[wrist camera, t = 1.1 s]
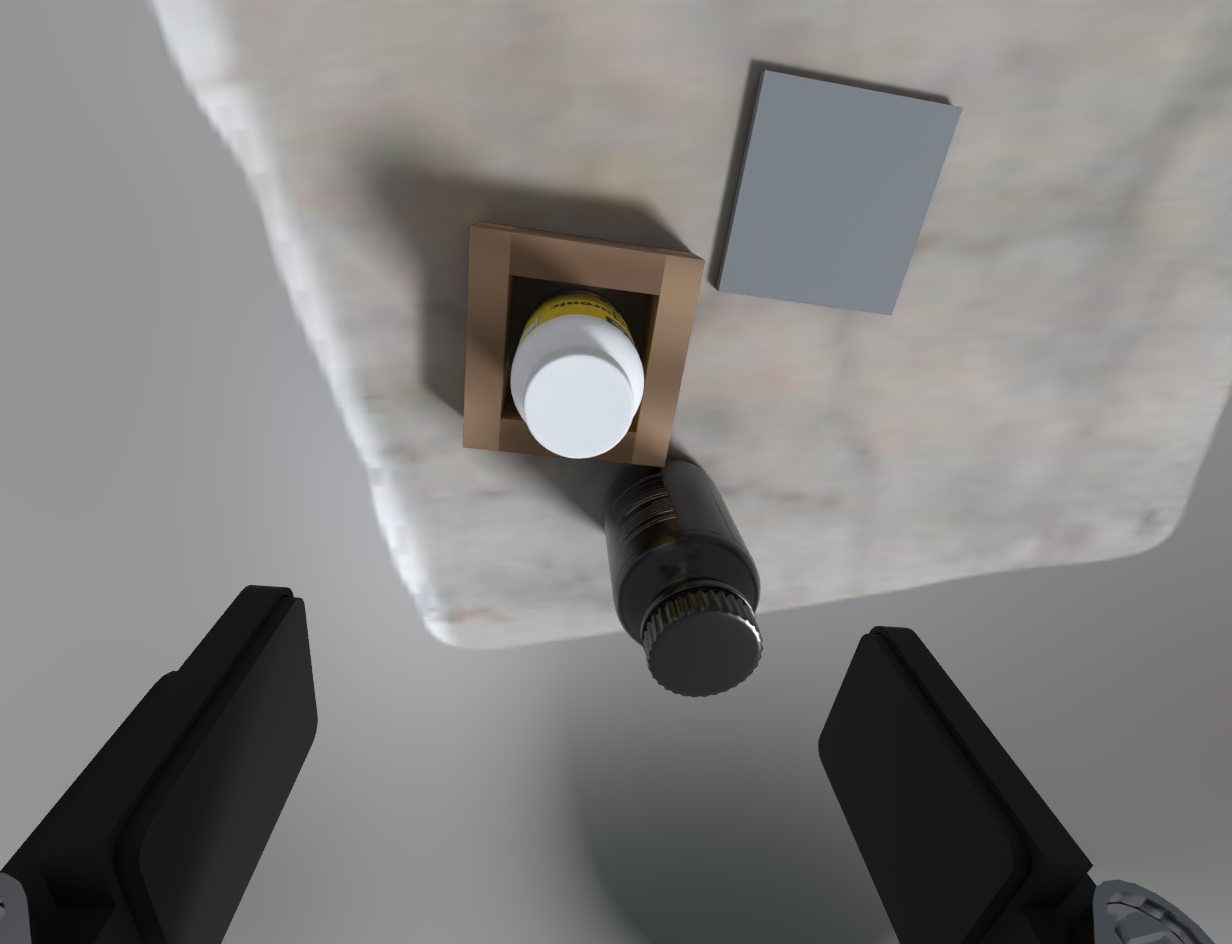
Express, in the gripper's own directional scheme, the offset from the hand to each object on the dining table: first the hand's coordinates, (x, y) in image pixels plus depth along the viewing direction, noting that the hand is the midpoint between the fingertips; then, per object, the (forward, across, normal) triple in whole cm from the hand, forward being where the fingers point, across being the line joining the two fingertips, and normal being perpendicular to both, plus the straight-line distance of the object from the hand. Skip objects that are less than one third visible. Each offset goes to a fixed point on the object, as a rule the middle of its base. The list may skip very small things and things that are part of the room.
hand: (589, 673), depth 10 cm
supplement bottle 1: (+22, 0, 0) cm, 22 cm away
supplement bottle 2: (+22, -6, +9) cm, 25 cm away
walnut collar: (+22, 0, 0) cm, 22 cm away
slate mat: (+22, -11, -8) cm, 26 cm away
